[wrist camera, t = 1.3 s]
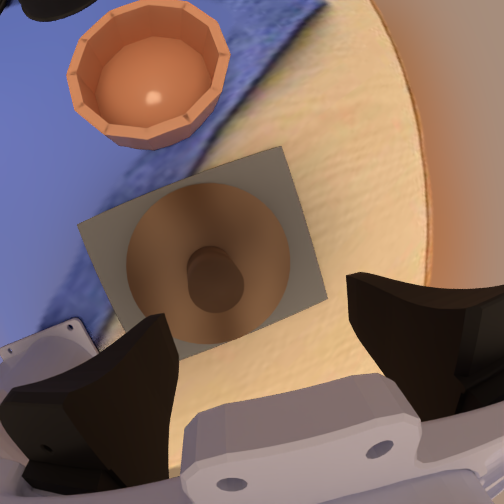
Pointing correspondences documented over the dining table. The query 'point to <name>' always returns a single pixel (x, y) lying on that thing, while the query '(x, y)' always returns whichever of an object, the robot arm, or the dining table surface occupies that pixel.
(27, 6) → the milk frother
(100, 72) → the bowl
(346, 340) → the dining table surface
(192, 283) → the lid
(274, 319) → the mat
